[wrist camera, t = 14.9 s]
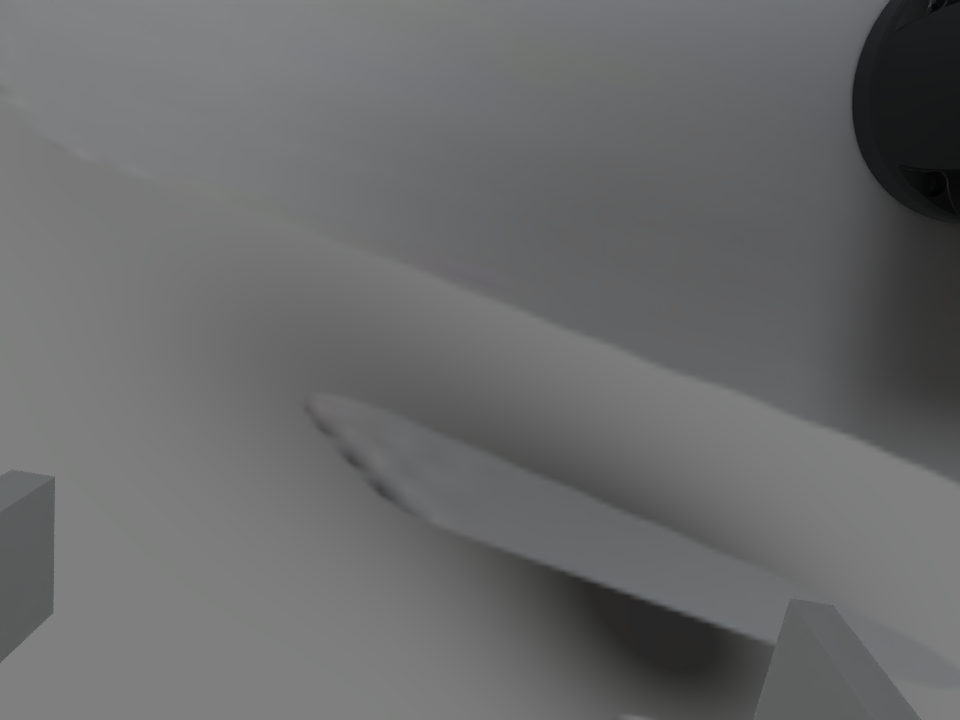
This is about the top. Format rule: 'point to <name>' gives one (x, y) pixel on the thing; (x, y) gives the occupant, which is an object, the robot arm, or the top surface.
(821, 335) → the top surface
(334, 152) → the top surface
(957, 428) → the top surface
